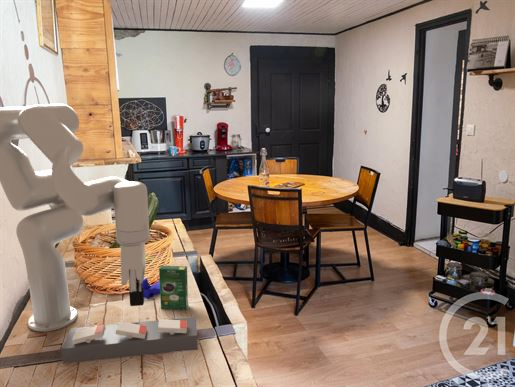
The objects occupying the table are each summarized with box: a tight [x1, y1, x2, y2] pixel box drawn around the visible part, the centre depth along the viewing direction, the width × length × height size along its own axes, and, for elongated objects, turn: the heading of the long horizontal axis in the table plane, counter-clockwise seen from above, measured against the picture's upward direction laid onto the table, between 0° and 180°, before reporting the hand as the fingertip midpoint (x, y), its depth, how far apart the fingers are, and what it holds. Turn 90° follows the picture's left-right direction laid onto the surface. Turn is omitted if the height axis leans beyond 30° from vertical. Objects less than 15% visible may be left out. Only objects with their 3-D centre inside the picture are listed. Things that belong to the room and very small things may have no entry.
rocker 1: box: [72, 323, 106, 344], centre depth 105 cm, size 4×7×2 cm, turn 99°
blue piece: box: [142, 277, 160, 300], centre depth 139 cm, size 12×4×6 cm, turn 142°
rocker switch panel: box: [60, 316, 199, 364], centre depth 109 cm, size 9×32×4 cm, turn 99°
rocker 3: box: [158, 318, 187, 335], centre depth 108 cm, size 4×7×2 cm, turn 99°
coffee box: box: [158, 264, 189, 311], centre depth 127 cm, size 8×3×13 cm, turn 86°
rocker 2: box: [116, 321, 147, 339], centre depth 107 cm, size 4×7×2 cm, turn 99°
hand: (137, 304), depth 106 cm, fingers closed
